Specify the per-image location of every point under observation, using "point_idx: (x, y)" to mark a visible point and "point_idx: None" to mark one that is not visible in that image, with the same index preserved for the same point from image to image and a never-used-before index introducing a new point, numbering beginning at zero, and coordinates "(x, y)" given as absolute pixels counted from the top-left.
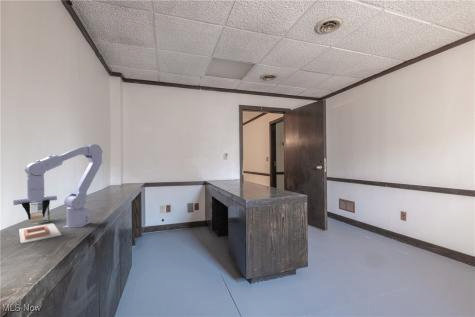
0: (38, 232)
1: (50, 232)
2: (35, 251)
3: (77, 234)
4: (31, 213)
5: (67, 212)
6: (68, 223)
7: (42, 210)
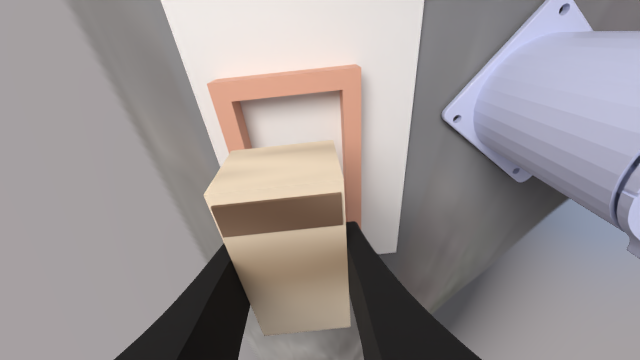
0: (307, 140)
1: (364, 189)
2: (311, 335)
3: (442, 271)
4: (230, 220)
5: (581, 179)
6: (490, 140)
7: (358, 297)
